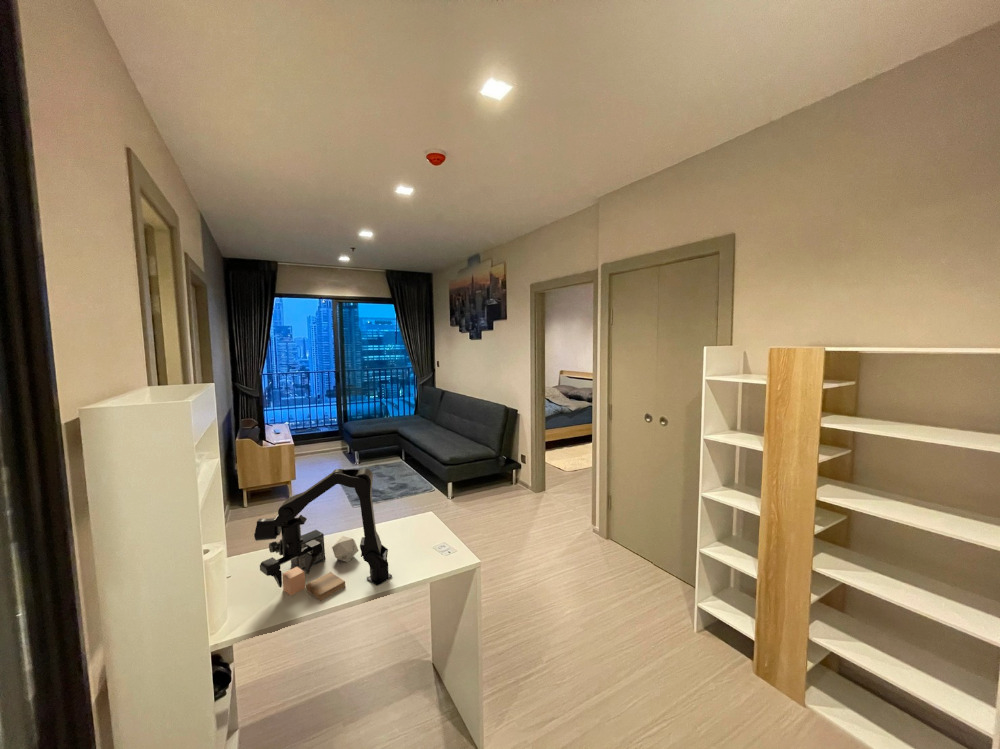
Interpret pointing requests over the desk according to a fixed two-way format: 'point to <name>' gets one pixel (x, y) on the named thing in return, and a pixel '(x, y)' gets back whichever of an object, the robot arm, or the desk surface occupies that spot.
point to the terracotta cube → (293, 580)
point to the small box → (306, 538)
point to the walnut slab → (325, 586)
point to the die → (345, 548)
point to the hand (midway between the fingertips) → (294, 580)
